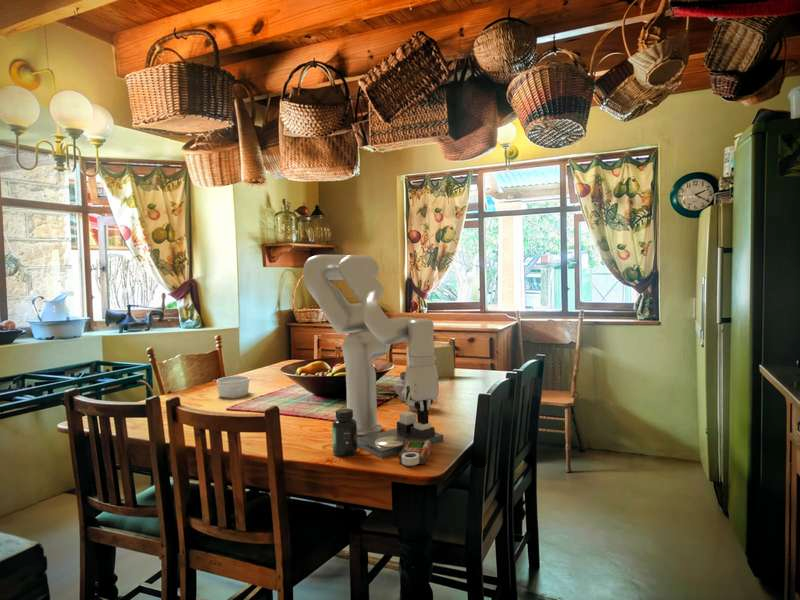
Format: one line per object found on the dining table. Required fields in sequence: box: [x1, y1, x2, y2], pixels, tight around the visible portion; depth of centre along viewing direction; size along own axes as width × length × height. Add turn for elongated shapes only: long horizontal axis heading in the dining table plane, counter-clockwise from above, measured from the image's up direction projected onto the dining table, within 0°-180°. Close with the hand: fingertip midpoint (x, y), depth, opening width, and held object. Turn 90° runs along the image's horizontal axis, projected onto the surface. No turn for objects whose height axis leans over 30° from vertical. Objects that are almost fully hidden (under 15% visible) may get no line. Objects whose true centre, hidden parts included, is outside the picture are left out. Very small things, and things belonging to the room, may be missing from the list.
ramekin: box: [216, 375, 250, 399], centre depth 221 cm, size 13×13×7 cm
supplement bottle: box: [331, 408, 358, 458], centre depth 148 cm, size 7×7×12 cm
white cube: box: [414, 421, 432, 430], centre depth 156 cm, size 4×4×4 cm
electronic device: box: [398, 439, 432, 467], centre depth 143 cm, size 7×3×15 cm
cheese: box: [406, 344, 455, 379], centre depth 249 cm, size 22×10×15 cm, turn 97°
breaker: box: [399, 411, 417, 425], centre depth 161 cm, size 4×4×4 cm
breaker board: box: [357, 420, 444, 459], centre depth 155 cm, size 14×22×4 cm, turn 126°
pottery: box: [393, 371, 417, 412], centre depth 200 cm, size 11×25×12 cm, turn 10°
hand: (423, 422), depth 156 cm, fingers closed
